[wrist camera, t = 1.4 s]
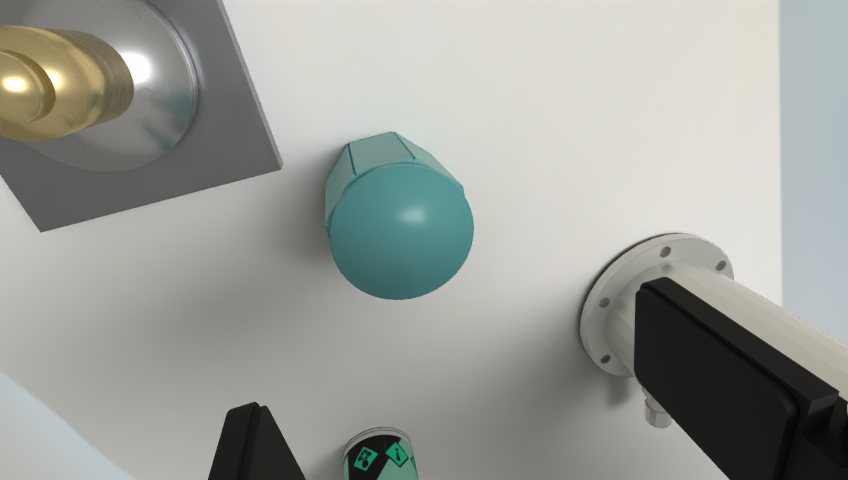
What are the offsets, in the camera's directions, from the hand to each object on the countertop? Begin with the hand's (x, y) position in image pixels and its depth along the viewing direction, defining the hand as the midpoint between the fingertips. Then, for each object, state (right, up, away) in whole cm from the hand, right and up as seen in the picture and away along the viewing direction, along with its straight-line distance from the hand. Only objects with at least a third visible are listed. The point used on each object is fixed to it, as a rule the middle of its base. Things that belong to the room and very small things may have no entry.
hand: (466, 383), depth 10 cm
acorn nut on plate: (-16, +11, +9) cm, 22 cm away
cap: (-3, +7, +14) cm, 16 cm away
